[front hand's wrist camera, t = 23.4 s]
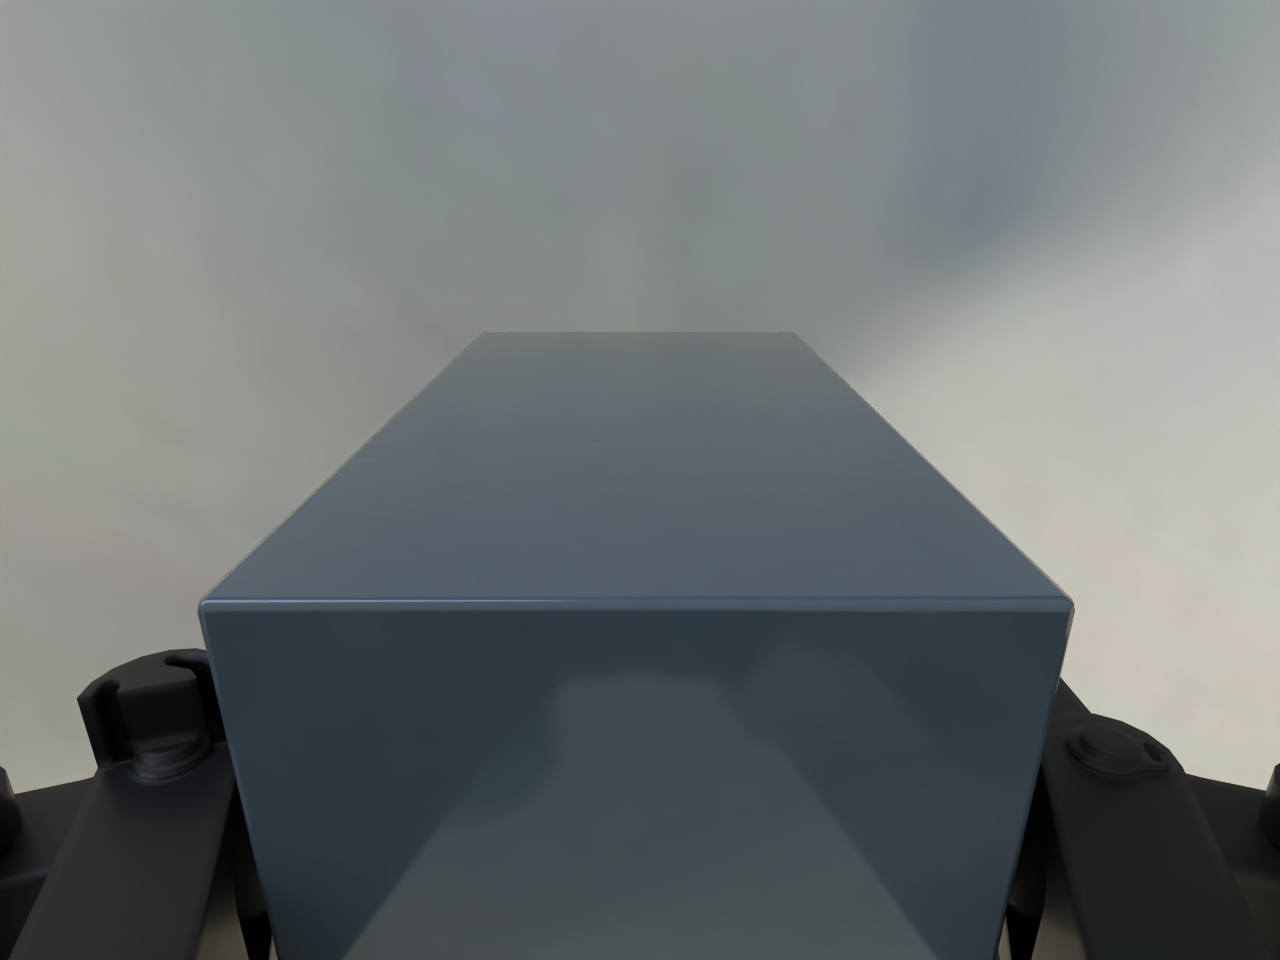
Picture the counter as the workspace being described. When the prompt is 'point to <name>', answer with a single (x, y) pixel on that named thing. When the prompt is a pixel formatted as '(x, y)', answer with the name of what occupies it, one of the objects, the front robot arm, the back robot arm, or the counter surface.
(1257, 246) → the counter surface
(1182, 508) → the counter surface
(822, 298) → the counter surface
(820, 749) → the brick
